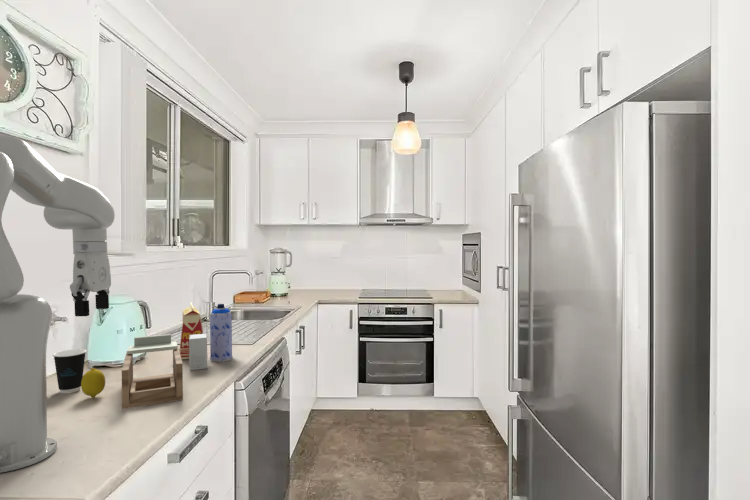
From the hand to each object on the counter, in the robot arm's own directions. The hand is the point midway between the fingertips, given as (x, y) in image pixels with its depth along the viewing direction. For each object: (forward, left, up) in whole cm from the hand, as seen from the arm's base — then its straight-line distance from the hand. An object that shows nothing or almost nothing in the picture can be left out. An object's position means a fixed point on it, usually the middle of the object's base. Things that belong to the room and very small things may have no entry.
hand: (92, 312), depth 114 cm
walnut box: (+6, -13, -24) cm, 27 cm away
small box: (+30, -18, -24) cm, 42 cm away
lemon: (+2, +1, -24) cm, 24 cm away
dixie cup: (+9, +11, -24) cm, 28 cm away
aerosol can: (+40, -23, -24) cm, 52 cm away
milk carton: (+45, -11, -24) cm, 52 cm away
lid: (+14, -10, -13) cm, 22 cm away
